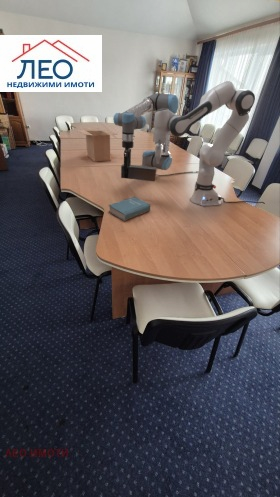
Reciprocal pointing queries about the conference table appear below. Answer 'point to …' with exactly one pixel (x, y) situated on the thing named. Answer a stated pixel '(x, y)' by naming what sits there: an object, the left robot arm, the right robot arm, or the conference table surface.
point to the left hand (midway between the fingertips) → (127, 176)
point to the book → (129, 208)
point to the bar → (140, 172)
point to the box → (98, 144)
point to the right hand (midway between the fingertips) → (158, 161)
